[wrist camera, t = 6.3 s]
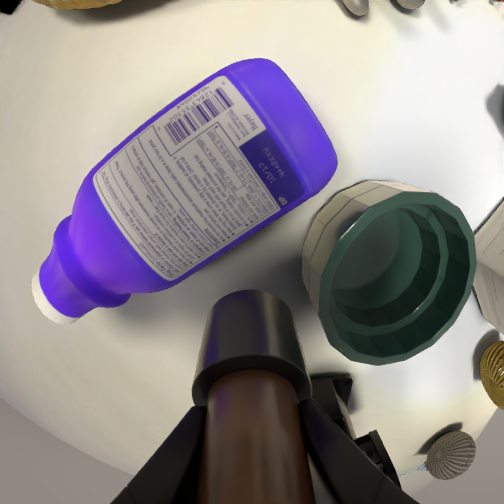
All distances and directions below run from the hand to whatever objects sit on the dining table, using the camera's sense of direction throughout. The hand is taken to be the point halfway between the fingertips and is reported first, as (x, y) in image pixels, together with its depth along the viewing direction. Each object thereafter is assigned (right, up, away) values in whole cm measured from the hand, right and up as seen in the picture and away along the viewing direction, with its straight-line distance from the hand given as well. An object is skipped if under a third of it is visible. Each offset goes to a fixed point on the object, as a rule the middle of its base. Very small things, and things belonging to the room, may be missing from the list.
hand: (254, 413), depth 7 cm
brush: (0, +1, +4) cm, 5 cm away
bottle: (+2, +11, +5) cm, 12 cm away
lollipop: (+19, -24, +20) cm, 36 cm away
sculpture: (+25, -6, +14) cm, 29 cm away
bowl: (+8, +4, +10) cm, 13 cm away
